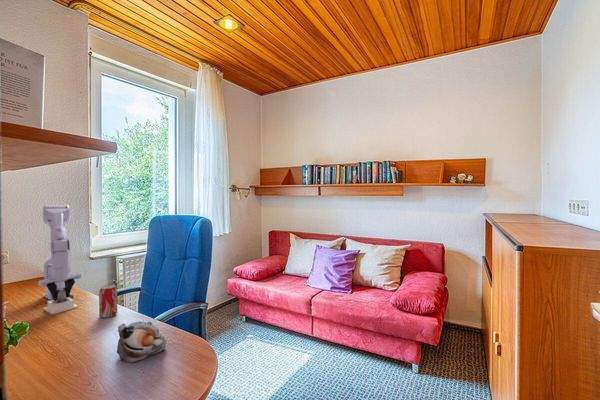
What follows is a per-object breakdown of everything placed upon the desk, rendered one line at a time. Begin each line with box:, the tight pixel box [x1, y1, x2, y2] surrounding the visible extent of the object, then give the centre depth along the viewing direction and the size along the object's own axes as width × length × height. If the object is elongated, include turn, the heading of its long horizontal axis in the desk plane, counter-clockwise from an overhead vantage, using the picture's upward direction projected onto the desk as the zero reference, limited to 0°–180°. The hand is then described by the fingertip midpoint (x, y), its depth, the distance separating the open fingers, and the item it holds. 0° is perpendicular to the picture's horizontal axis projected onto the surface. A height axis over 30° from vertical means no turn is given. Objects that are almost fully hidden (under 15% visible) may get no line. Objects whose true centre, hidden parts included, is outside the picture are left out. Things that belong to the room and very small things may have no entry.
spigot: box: [55, 288, 67, 303], centre depth 131 cm, size 4×4×6 cm
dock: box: [43, 293, 79, 315], centre depth 133 cm, size 12×11×3 cm
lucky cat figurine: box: [116, 320, 167, 364], centre depth 93 cm, size 15×12×14 cm
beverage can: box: [98, 284, 118, 319], centre depth 124 cm, size 6×6×12 cm
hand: (60, 298), depth 131 cm, fingers closed on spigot, 4 cm apart
